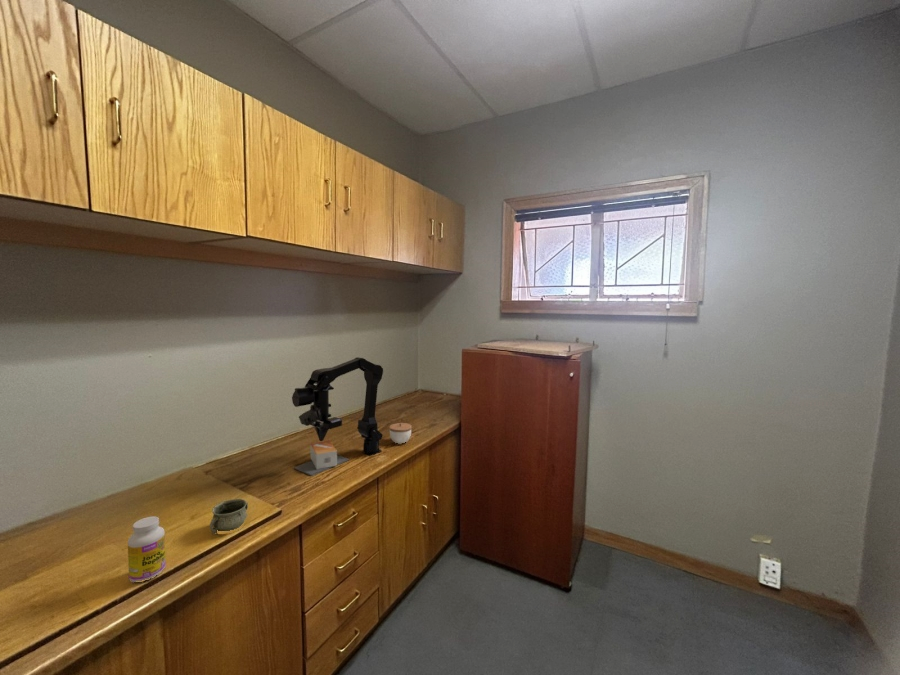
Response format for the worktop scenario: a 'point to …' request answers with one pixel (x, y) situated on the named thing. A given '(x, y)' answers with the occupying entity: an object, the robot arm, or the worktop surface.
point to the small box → (323, 455)
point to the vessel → (228, 515)
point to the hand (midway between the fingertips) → (321, 440)
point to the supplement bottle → (146, 549)
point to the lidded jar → (400, 432)
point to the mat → (311, 469)
